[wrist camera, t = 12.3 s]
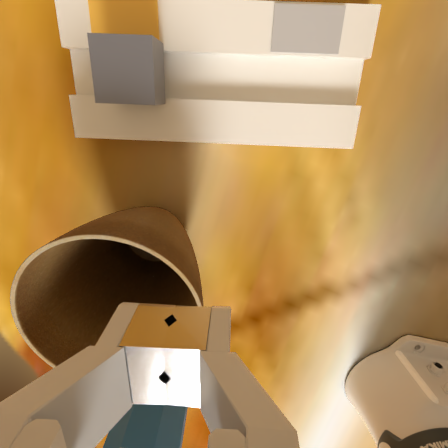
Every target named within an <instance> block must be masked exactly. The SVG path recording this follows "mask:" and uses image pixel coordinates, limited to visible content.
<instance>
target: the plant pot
mask: <svg viewBox="0 0 448 448" xmlns="http://www.w3.org/2000/svg"><path fill="white" fill-rule="evenodd" d="M122 302H129V303H148V304H164V305H176V306H203V297H202V288H201V280H200V274H199V269H198V264H197V260H196V257H195V253H194V250H193V247H192V244H191V242H190V239H189V237H188V235H187V233H186V231H185V229H184V227H183V226H182V224H181V223H180V221H179V220H178V219H177V218H176V217H175V216H174V215H173V214H172V213H170V212H169V211H167V210H165V209H162V208H158V207H138V208H131V209H126V210H122V211H118V212H115V213H112V214H109V215H106V216H103V217H101V218H98V219H96V220H93V221H91V222H88V223H86V224H84V225H82V226H80V227H77V228H75V229H73V230H71V231H70V232H68V233H66V234H64V235H62V236H60V237H58V238H56V239H55V240H53V241H51V242H49V243H48V244H46V245H44V246H43V247H41V248H39V249H38V250H36V251H35V252H34V253H32V254H31V255H30V256H29V257H28V258H27V259H26V260H25V261H24V262H23V263H22V265H21V266H20V268H19V269H18V271H17V273H16V275H15V277H14V280H13V283H12V287H11V293H10V304H11V312H12V316H13V319H14V322H15V324H16V327H17V329H18V330H19V332H20V334H21V336H22V337H23V339H24V340H25V342H26V343H27V344H28V345H29V347H30V348H31V349H32V350H33V351H34V352H35V353H36V354H37V355H38V356H39V357H40V358H41V359H43V360H44V361H45V362H46V363H48V364H49V365H50V366H52V367H53V368H55V367H57V366H58V365H60V364H61V363H63V362H64V361H66V360H68V359H69V358H71V357H72V356H74V355H75V354H77V353H79V352H80V351H82V350H83V349H85V348H86V347H88V346H95V345H96V343H97V342H98V340H99V338H100V337H101V335H102V333H103V331H104V330H105V328H106V326H107V324H108V323H109V321H110V319H111V318H112V316H113V314H114V312H115V311H116V309H117V307H118V305H119V304H121V303H122Z"/></svg>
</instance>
